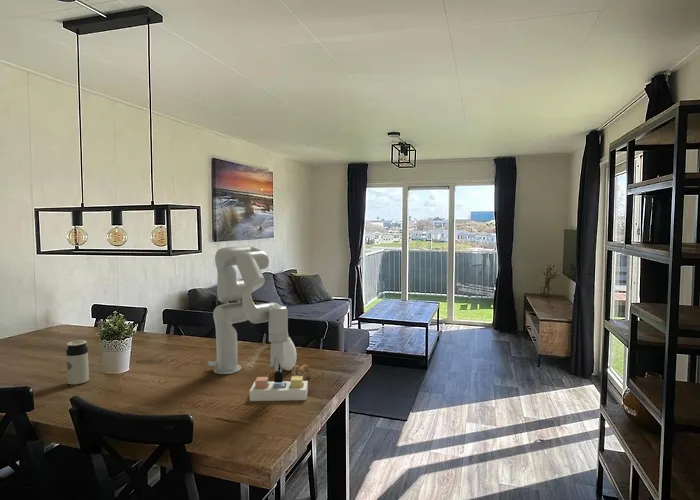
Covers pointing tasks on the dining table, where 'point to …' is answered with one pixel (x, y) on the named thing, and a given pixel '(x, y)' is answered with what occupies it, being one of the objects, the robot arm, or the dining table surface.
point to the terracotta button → (261, 383)
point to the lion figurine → (300, 371)
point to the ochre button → (296, 381)
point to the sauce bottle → (289, 355)
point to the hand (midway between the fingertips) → (278, 381)
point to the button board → (279, 392)
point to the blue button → (279, 385)
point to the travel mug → (77, 362)
